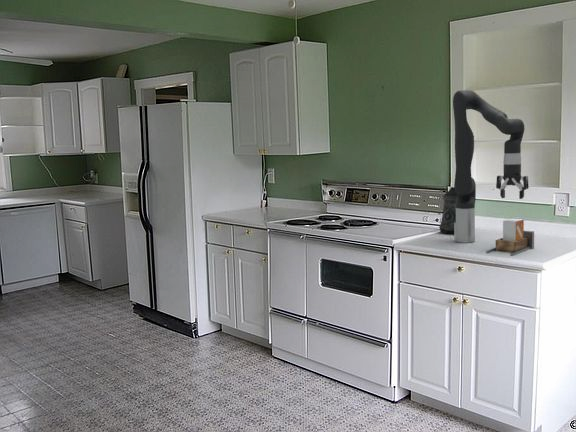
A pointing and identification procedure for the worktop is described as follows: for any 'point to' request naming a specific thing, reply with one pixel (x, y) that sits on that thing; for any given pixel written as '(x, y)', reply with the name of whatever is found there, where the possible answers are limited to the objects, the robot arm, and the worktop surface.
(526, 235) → the backstop track
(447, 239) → the worktop surface
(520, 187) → the robot arm
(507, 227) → the small box
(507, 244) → the socket block
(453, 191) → the beer stein
